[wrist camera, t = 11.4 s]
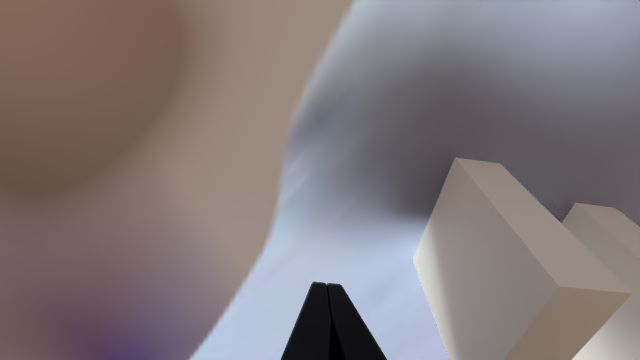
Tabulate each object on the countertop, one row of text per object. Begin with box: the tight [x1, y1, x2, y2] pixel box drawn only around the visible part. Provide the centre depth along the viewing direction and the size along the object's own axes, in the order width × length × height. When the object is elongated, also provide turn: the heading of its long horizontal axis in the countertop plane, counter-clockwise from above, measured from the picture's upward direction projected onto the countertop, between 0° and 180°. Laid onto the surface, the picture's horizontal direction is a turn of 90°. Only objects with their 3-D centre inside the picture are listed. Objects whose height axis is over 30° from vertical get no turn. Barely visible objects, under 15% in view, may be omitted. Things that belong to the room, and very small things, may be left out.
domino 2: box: [561, 203, 640, 360], centre depth 11 cm, size 2×5×5 cm, turn 170°
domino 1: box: [413, 157, 633, 360], centre depth 10 cm, size 2×5×5 cm, turn 170°
